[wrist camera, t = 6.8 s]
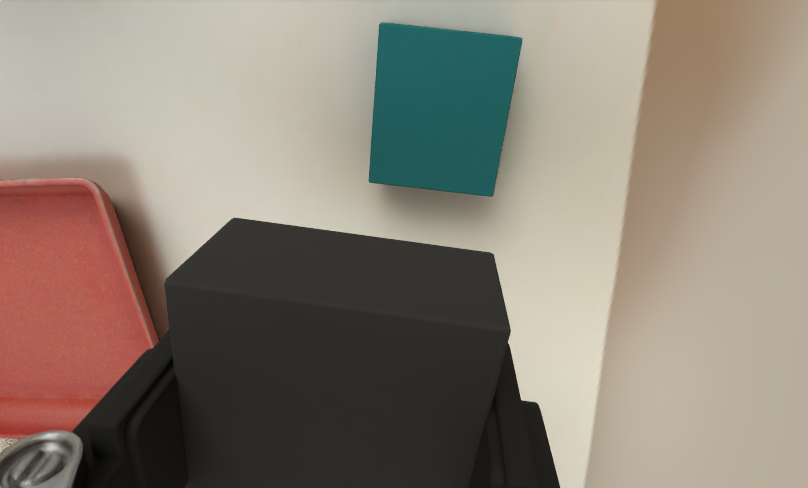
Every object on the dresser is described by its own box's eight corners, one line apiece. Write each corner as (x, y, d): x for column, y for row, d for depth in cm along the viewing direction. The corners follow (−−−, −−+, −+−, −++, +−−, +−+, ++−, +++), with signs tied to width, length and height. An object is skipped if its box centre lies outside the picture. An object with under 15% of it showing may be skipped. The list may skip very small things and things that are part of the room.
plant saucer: (-23, 405, 35) (-66, 440, 32) (-157, 171, 28) (-230, 189, 25) (209, 407, 34) (186, 444, 31) (133, 159, 26) (93, 176, 23)
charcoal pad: (494, 251, 11) (513, 329, 8) (446, 467, 14) (447, 577, 11) (232, 215, 11) (161, 279, 8) (242, 437, 14) (192, 540, 11)
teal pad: (513, 36, 22) (523, 37, 19) (487, 178, 25) (493, 197, 22) (386, 22, 22) (379, 22, 20) (376, 166, 25) (368, 182, 23)
